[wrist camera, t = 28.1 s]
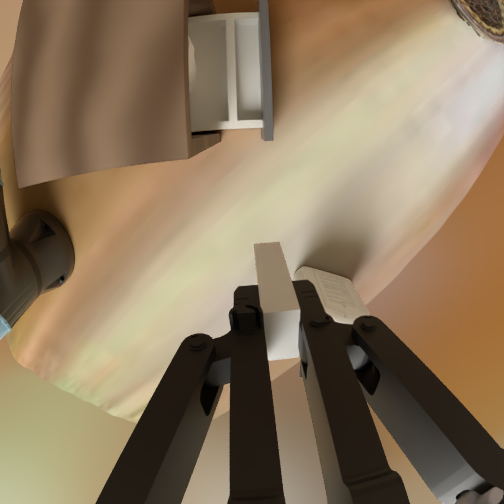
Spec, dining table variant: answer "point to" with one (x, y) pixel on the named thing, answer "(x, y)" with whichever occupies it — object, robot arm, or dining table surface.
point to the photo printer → (335, 294)
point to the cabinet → (102, 86)
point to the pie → (483, 17)
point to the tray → (232, 71)
